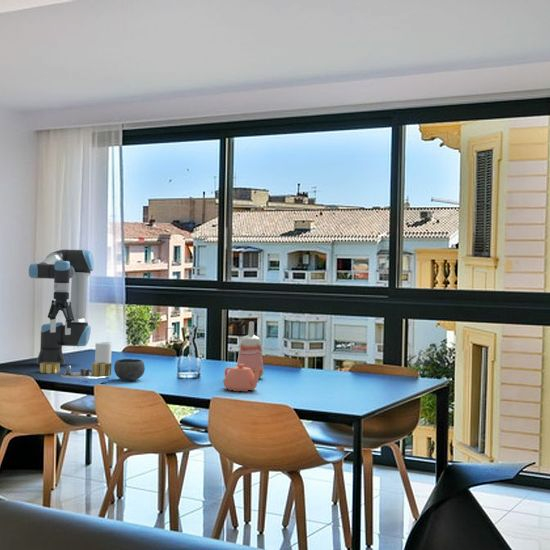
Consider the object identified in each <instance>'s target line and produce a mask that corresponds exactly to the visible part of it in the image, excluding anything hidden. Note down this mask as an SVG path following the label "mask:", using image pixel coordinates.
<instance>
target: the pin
mask: <svg viewBox="0 0 550 550" xmlns="http://www.w3.org/2000/svg"><path fill="white" fill-rule="evenodd" d="M65 367H66V368H65V373H66V375H71V372H72V366H71V365H66V366H65Z"/></svg>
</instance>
